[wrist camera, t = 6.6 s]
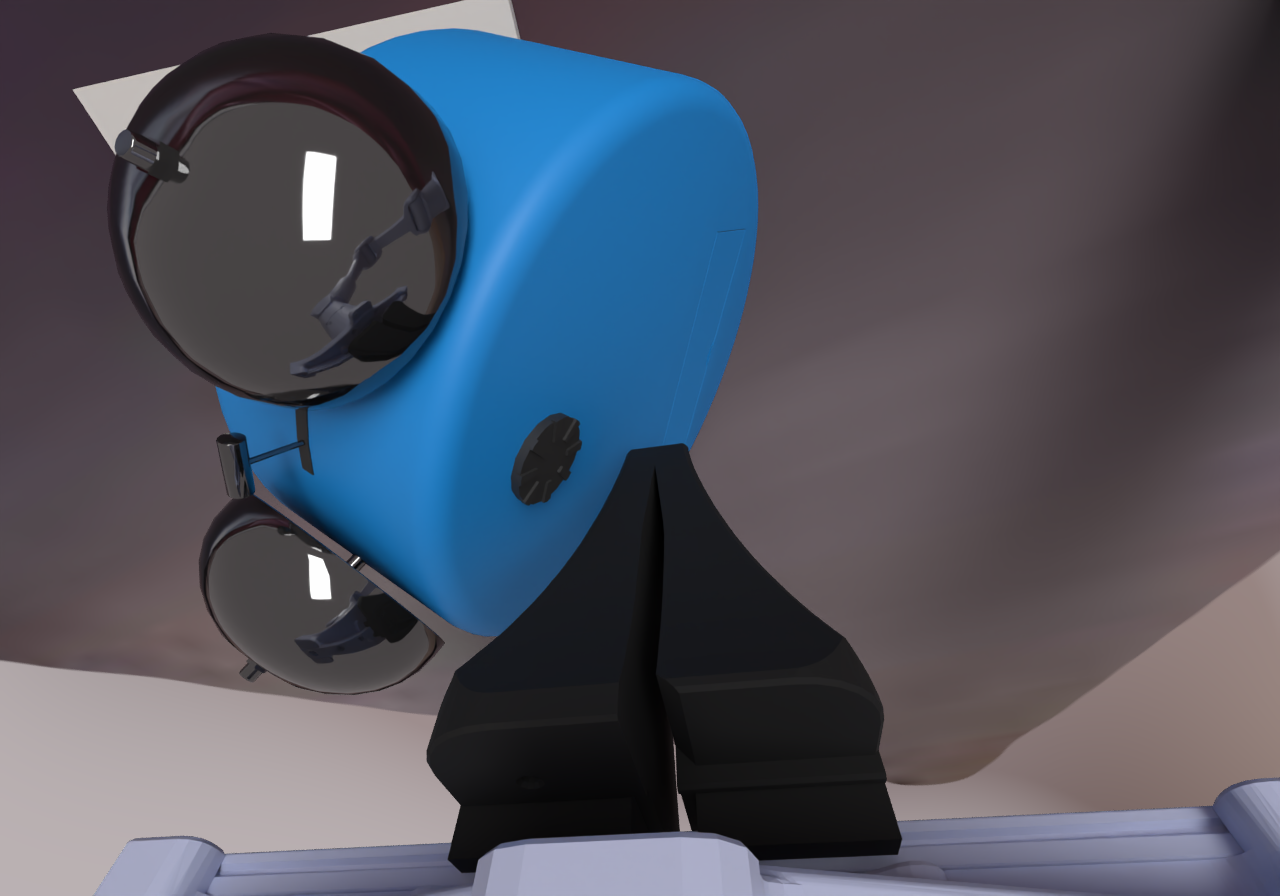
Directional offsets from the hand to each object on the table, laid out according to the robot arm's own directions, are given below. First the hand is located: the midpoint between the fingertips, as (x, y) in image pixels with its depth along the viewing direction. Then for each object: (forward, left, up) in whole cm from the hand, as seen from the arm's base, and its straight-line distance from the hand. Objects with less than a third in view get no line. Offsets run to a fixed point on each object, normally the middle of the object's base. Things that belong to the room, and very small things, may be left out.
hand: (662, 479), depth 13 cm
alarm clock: (0, 0, -9) cm, 9 cm away
